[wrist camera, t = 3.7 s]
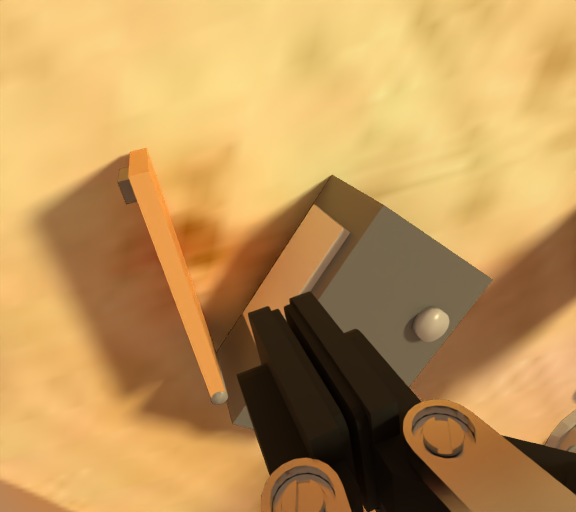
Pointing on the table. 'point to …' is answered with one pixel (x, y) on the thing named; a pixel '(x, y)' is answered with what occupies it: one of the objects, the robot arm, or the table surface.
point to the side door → (172, 265)
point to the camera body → (361, 286)
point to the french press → (564, 434)
